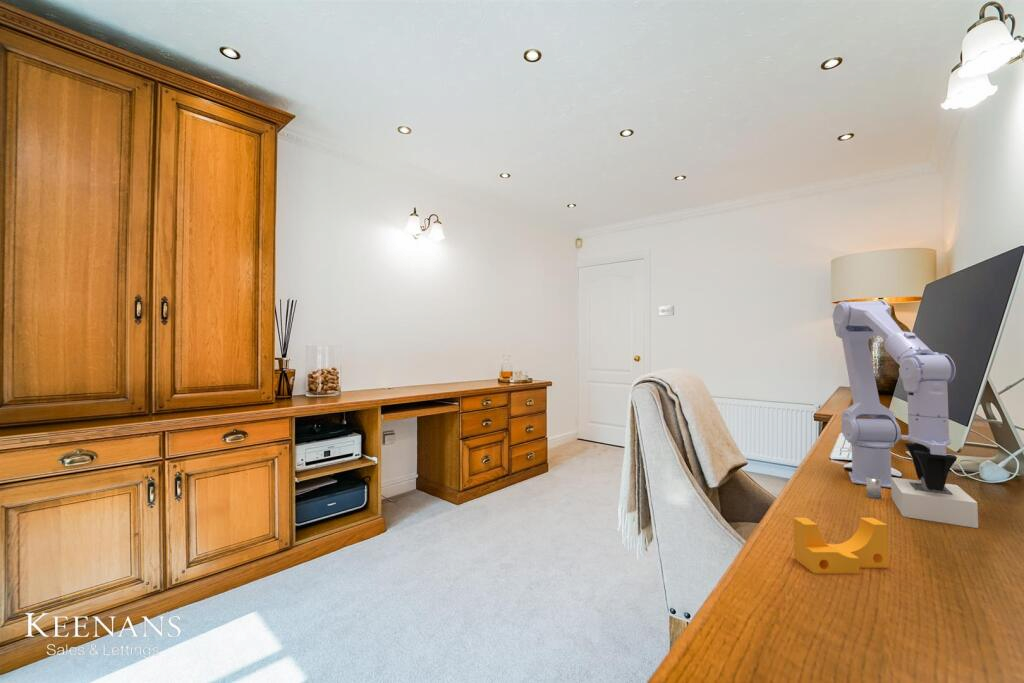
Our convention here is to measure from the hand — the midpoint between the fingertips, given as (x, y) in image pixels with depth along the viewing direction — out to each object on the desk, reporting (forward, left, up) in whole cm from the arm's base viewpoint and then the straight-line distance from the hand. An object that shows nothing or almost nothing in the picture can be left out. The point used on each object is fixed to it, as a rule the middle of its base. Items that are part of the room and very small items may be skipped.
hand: (930, 484), depth 84 cm
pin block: (0, 0, -5) cm, 5 cm away
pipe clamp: (+35, -16, -6) cm, 39 cm away
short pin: (-5, -8, -5) cm, 11 cm away
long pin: (0, 0, -5) cm, 5 cm away
